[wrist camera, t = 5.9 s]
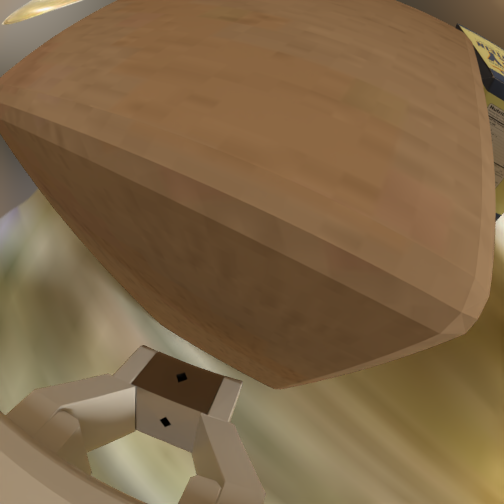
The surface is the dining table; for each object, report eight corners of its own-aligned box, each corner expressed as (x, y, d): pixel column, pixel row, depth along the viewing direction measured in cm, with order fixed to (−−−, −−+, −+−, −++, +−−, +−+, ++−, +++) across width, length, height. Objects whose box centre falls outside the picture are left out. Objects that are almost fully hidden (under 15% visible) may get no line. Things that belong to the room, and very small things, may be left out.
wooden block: (279, 392, 20) (499, 339, 2) (158, 323, 22) (-27, 95, 4) (337, 274, 24) (475, 36, 6) (226, 220, 26) (212, -40, 8)
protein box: (476, 140, 35) (522, 60, 21) (495, 224, 28) (574, 134, 14) (416, 112, 36) (455, 20, 22) (423, 192, 29) (495, 76, 15)
